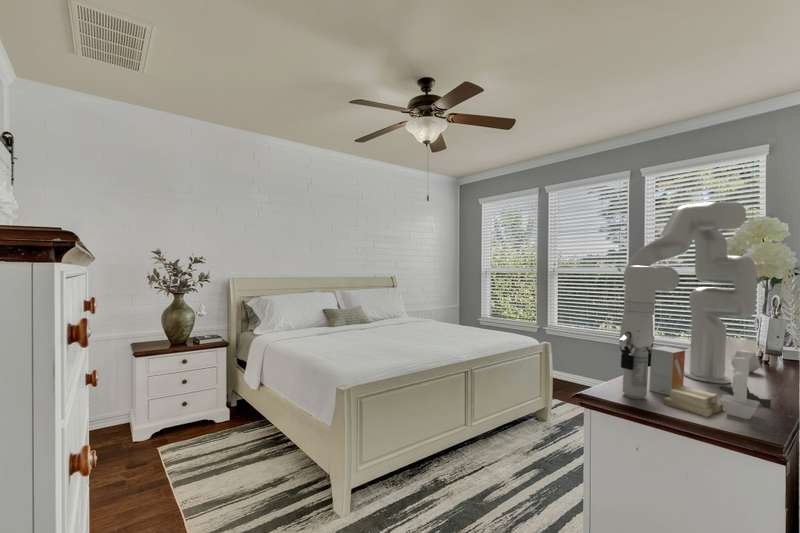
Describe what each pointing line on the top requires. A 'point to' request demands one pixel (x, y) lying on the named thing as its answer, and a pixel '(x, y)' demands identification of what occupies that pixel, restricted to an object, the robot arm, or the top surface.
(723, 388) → the animal figurine
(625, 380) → the energy drink can
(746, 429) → the top surface
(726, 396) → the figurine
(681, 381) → the small box
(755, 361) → the die
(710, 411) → the plinth
